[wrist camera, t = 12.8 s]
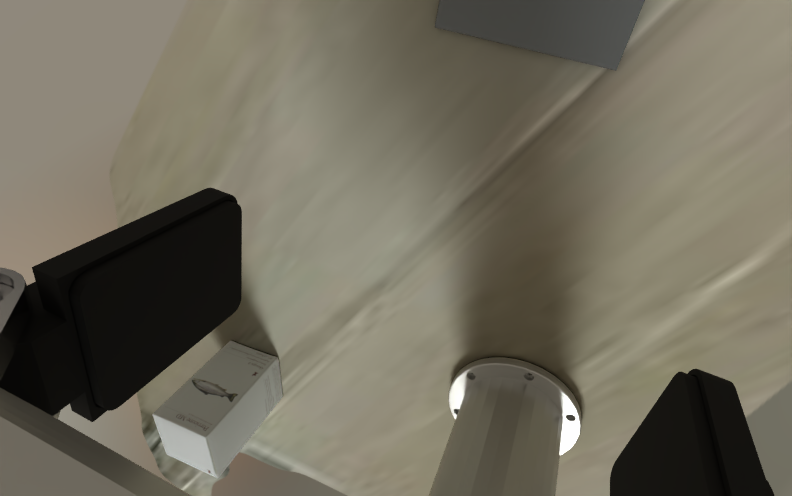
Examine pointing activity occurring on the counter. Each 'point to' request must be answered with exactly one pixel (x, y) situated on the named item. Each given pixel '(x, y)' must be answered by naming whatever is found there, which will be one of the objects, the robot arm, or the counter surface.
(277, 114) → the counter surface
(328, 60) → the counter surface
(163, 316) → the robot arm
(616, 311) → the counter surface
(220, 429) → the supplement box
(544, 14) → the mat
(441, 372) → the counter surface
